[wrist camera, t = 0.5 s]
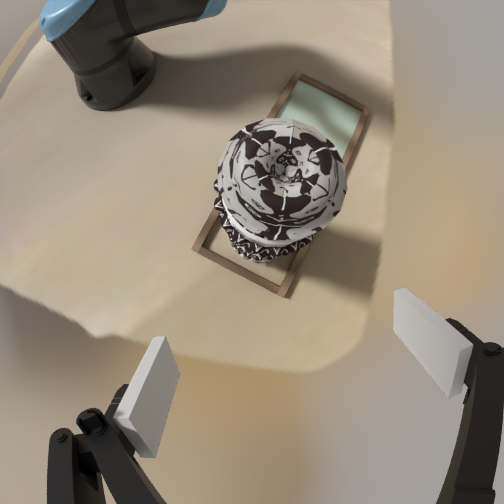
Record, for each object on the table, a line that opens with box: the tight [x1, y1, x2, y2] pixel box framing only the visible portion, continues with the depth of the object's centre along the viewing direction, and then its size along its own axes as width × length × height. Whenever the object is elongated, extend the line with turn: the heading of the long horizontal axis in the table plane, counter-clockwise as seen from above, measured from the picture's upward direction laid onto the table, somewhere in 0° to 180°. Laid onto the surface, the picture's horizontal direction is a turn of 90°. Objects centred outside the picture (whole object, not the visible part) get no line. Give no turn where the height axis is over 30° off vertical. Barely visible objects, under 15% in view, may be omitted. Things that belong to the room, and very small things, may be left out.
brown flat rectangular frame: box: [191, 72, 370, 298], centre depth 41 cm, size 34×14×1 cm, turn 153°
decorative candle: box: [214, 118, 347, 262], centre depth 28 cm, size 9×9×25 cm
